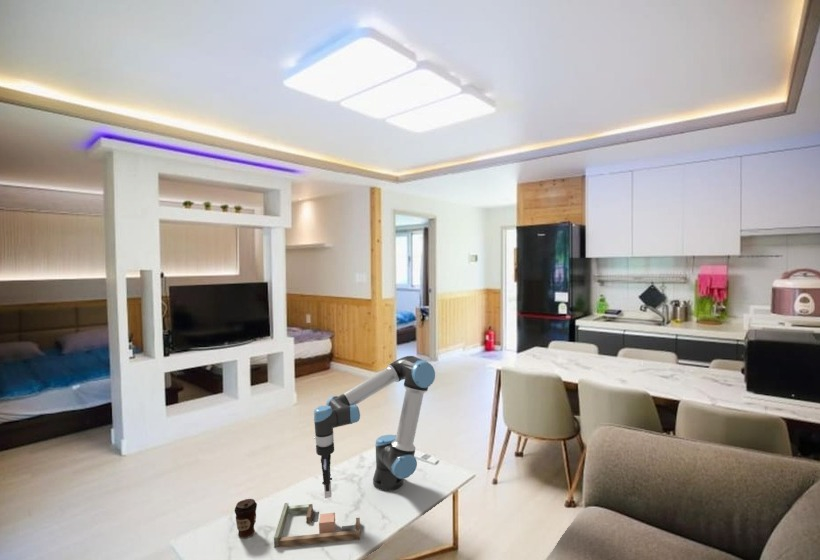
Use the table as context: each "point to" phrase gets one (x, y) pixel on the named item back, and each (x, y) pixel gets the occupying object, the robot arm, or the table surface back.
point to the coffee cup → (246, 517)
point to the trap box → (344, 535)
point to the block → (327, 523)
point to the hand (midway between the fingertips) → (328, 496)
